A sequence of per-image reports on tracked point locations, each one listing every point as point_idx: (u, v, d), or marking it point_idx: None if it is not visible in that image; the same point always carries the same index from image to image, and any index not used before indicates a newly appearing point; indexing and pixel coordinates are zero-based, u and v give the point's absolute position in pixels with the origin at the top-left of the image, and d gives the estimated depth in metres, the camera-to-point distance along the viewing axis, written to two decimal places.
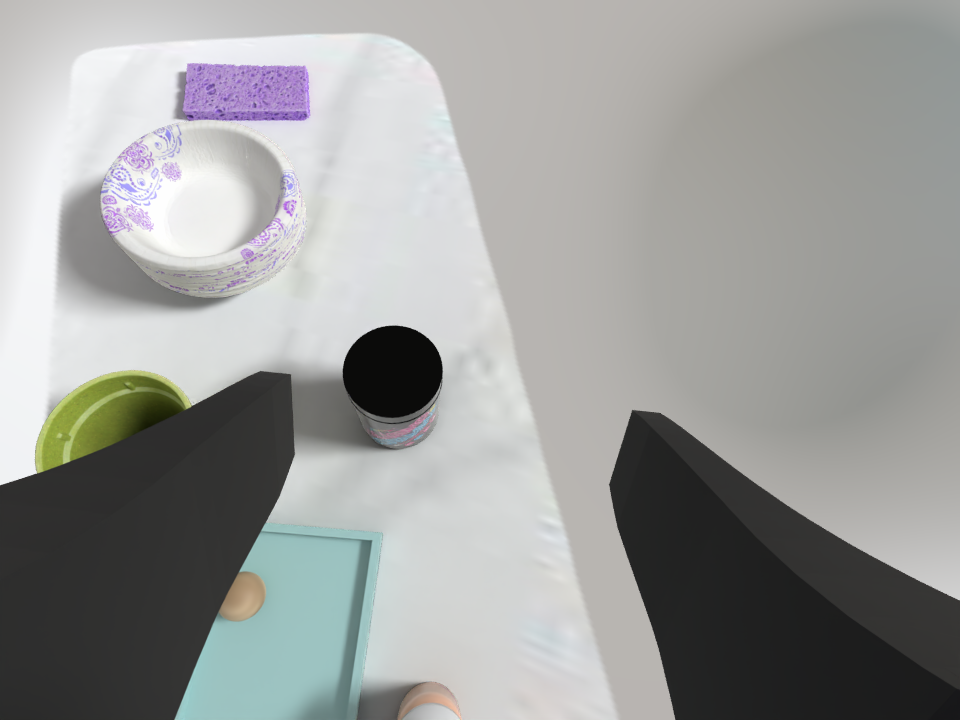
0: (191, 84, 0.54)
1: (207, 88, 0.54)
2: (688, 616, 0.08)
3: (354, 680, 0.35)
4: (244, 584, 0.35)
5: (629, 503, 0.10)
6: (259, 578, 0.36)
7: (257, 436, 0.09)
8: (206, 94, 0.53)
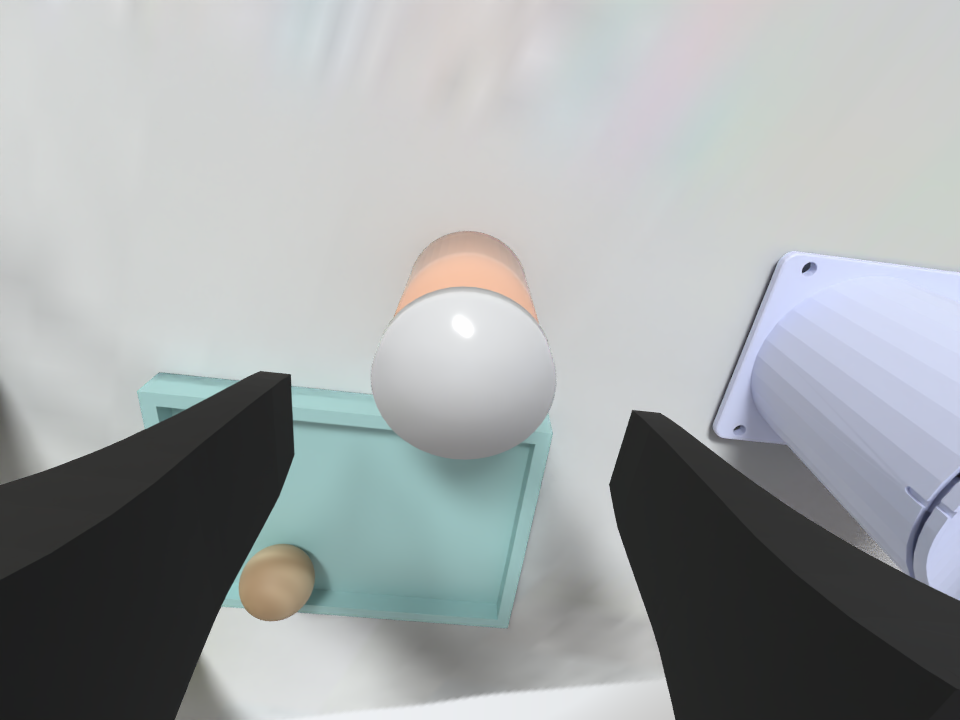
0: None
1: None
2: (688, 616, 0.08)
3: None
4: (246, 599, 0.21)
5: (629, 503, 0.10)
6: (246, 566, 0.22)
7: (257, 436, 0.09)
8: None
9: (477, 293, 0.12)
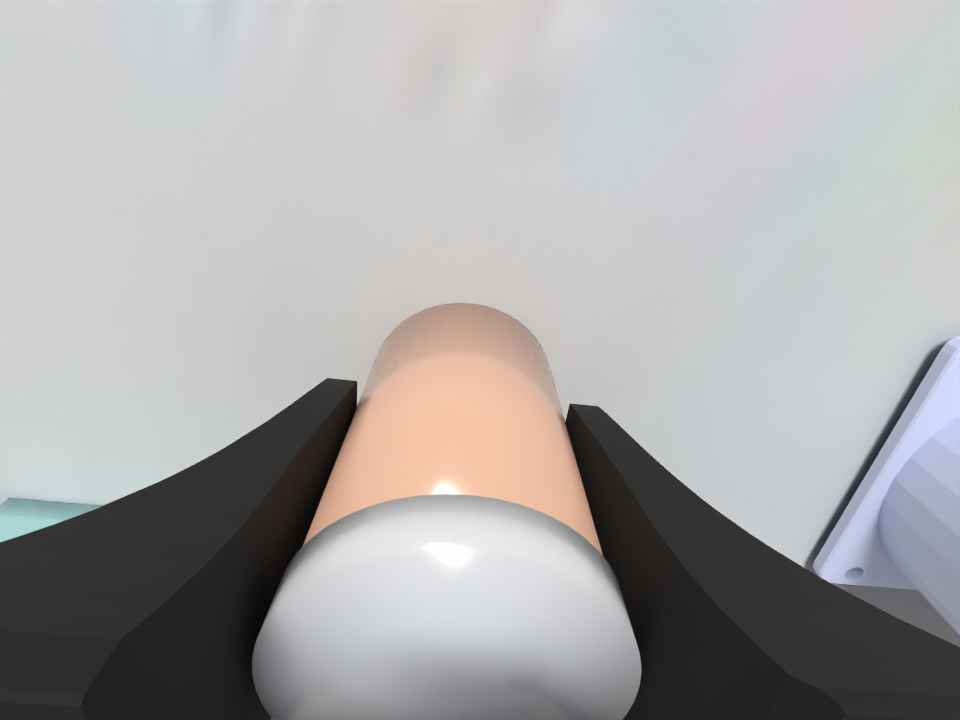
0: None
1: None
2: None
3: None
4: None
5: None
6: None
7: (334, 443, 0.09)
8: None
9: (477, 525, 0.05)
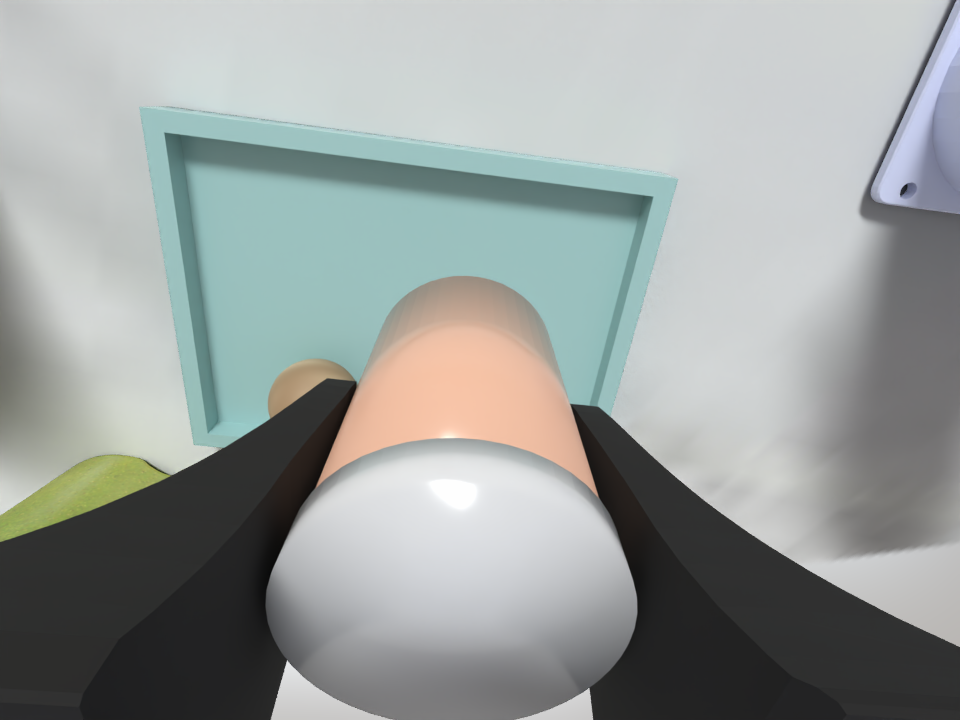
0: None
1: None
2: None
3: (474, 166, 0.15)
4: (278, 410, 0.17)
5: None
6: (278, 377, 0.18)
7: None
8: None
9: (489, 465, 0.06)
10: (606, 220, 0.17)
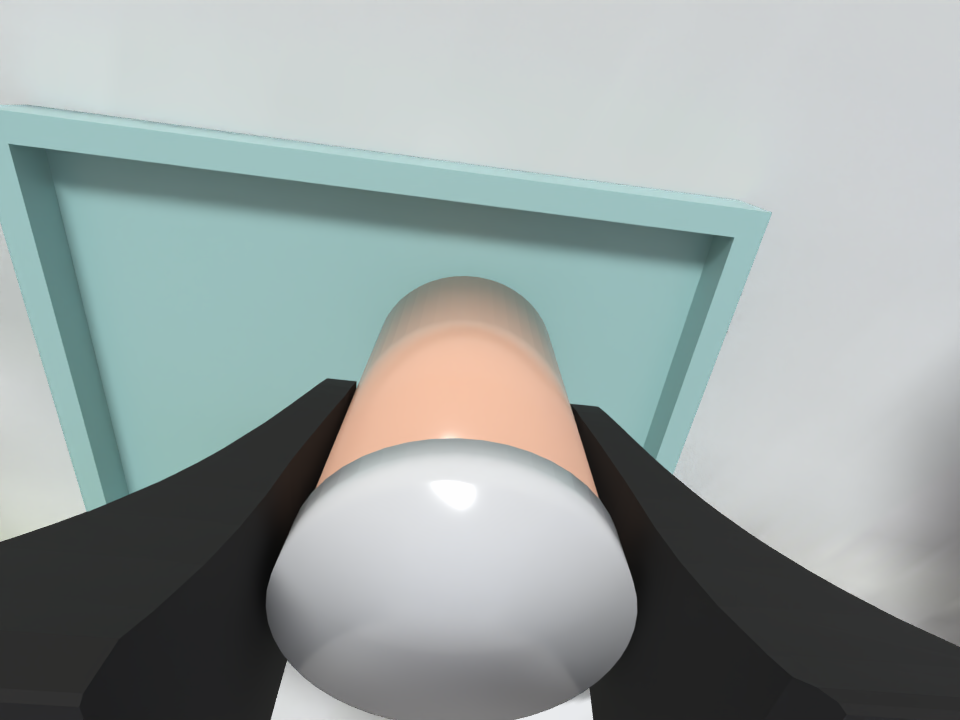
0: None
1: None
2: None
3: (473, 194, 0.10)
4: None
5: None
6: None
7: (333, 443, 0.09)
8: None
9: (489, 465, 0.06)
10: (659, 266, 0.12)
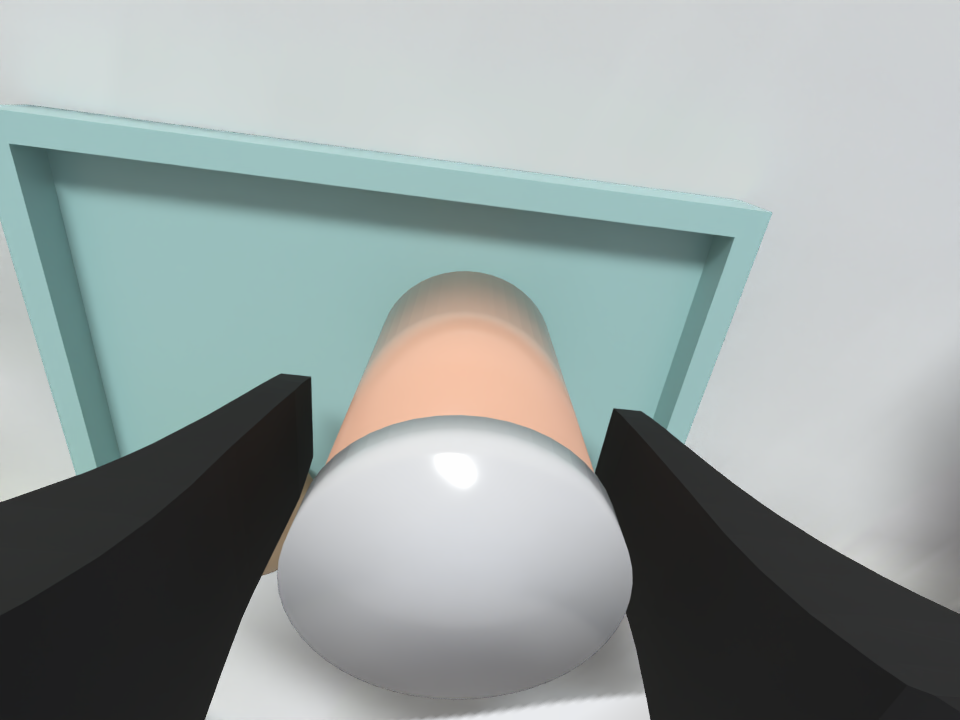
0: None
1: None
2: (663, 614, 0.08)
3: (474, 194, 0.10)
4: None
5: None
6: None
7: (281, 438, 0.09)
8: None
9: (491, 439, 0.06)
10: (660, 266, 0.12)
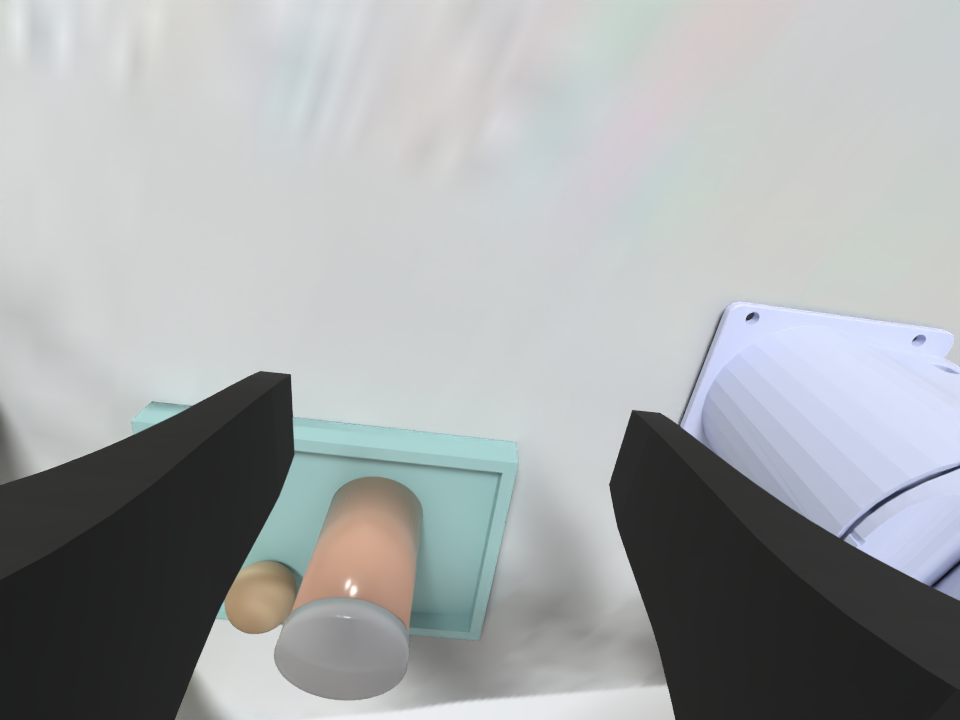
0: None
1: None
2: (688, 616, 0.08)
3: (371, 455, 0.21)
4: (231, 613, 0.23)
5: (629, 503, 0.10)
6: None
7: (257, 436, 0.09)
8: None
9: (350, 609, 0.17)
10: (475, 475, 0.23)
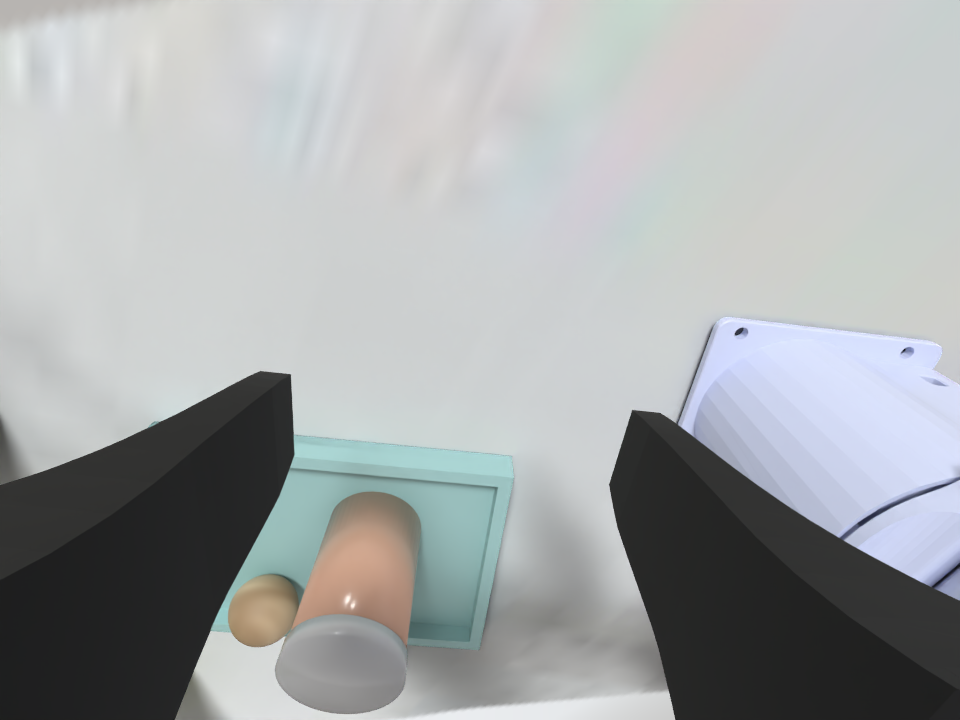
0: None
1: None
2: (688, 616, 0.08)
3: (369, 471, 0.22)
4: (234, 627, 0.23)
5: (629, 503, 0.10)
6: (235, 597, 0.24)
7: (257, 436, 0.09)
8: None
9: (348, 626, 0.17)
10: (471, 489, 0.23)
